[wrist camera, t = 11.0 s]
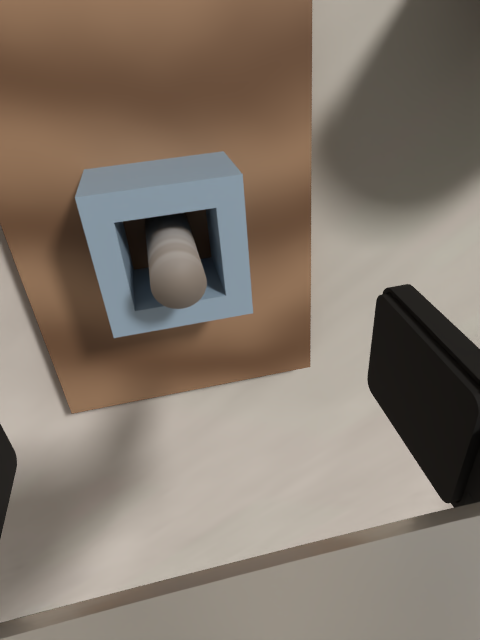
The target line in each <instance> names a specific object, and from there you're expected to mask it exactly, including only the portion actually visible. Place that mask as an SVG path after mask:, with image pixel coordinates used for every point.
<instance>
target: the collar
mask: <svg viewBox="0 0 480 640" xmlns="http://www.w3.org/2000/svg"><path fill="white" fill-rule="evenodd" d="M75 200H76V204H77V207H78V211H79V214H80V218H81V222H82V225H83V229H84V232H85V236H86V240H87V243H88V247H89V250H90V254H91V258H92V261H93V265H94V268H95V272H96V276H97V279H98V283H99V286H100V290H101V294H102V297H103V301H104V304H105V308H106V312H107V315H108V319H109V322H110V326H111V330H112V333H113V337H114V338H117V337H123V336H129V335H134V334H140V333H145V332H151V331H157V330H162V329H168V328H173V327H179V326H185V325H190V324H196V323H201V322H207V321H213V320H218V319H224V318H229V317H235V316H241V315H246V314H252V313H253V304H252V291H251V278H250V265H249V251H248V238H247V225H246V212H245V198H244V185H243V174H242V173H241V172H240V170H239V169H238V168H237V167H236V166H235V164H234V163H233V162H232V161H231V159H230V158H229V157H228V156H227V155H226V153H225V152H224V151H221V152H214V153H206V154H199V155H191V156H183V157H176V158H168V159H160V160H153V161H145V162H137V163H130V164H122V165H114V166H107V167H99V168H91V169H84V171H83V174H82V177H81V180H80V183H79V186H78V189H77V192H76V195H75ZM205 209H206V217H207V225H208V233H209V241H210V249H211V257H210V258H204V259H200V260H201V263H202V266H203V269H204V272H205V275H206V279H207V287H206V291H205V293H204V295H203V296H202V298H201V299H200V300H199V301H198V302H197V303H195V304H194V305H192V306H190V307H187V308H183V309H172V308H168V307H166V306H164V305H162V304H160V303H159V302H158V301H157V300H156V299H155V298H154V296H153V294H152V292H151V287H150V276H149V267H148V268H142V269H135V270H134V268H133V264H132V259H131V255H130V251H129V246H128V242H127V237H126V233H125V229H124V224H123V221H129V220H136V219H143V218H150V217H157V216H164V215H170V214H177V213H184V212H191V211H198V210H205Z"/></svg>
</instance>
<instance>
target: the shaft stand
mask: <svg viewBox="0 0 480 640" xmlns="http://www.w3.org/2000/svg"><path fill="white" fill-rule="evenodd" d="M311 117H312V0H0V224H1V227H2V230H3V232H4V235H5V238H6V240H7V243H8V246H9V248H10V251H11V253H12V256H13V259H14V261H15V264H16V267H17V269H18V272H19V275H20V277H21V280H22V283H23V285H24V288H25V291H26V293H27V296H28V299H29V301H30V304H31V307H32V309H33V312H34V315H35V317H36V320H37V322H38V325H39V328H40V330H41V333H42V336H43V338H44V341H45V344H46V346H47V349H48V352H49V354H50V357H51V360H52V362H53V365H54V368H55V370H56V373H57V376H58V378H59V381H60V383H61V386H62V389H63V391H64V394H65V397H66V399H67V402H68V405H69V407H70V410H71V413H78V412H83V411H88V410H93V409H98V408H103V407H108V406H113V405H118V404H123V403H128V402H134V401H139V400H144V399H149V398H154V397H159V396H164V395H169V394H174V393H179V392H184V391H190V390H195V389H200V388H205V387H210V386H215V385H220V384H225V383H230V382H235V381H240V380H246V379H251V378H256V377H261V376H266V375H271V374H276V373H281V372H286V371H291V370H296V369H302V368H307V367H310V309H311ZM221 151H224V152H225V153H226V155H227V156H228V157H229V158H230V159H231V161H232V162H233V163H234V164H235V166H236V167H237V168H238V169H239V170H240V172H241V173H242V174H243V185H244V198H245V212H246V225H247V238H248V251H249V265H250V278H251V291H252V304H253V313H252V314H246V315H241V316H235V317H229V318H224V319H218V320H213V321H207V322H201V323H196V324H190V325H185V326H179V327H173V328H168V329H162V330H157V331H151V332H145V333H140V334H134V335H129V336H123V337H117V338H114V337H113V333H112V330H111V326H110V322H109V319H108V315H107V312H106V308H105V304H104V301H103V297H102V294H101V290H100V286H99V283H98V279H97V276H96V272H95V268H94V265H93V261H92V258H91V254H90V250H89V247H88V243H87V240H86V236H85V232H84V229H83V225H82V222H81V218H80V214H79V211H78V207H77V204H76V200H75V195H76V192H77V189H78V186H79V183H80V180H81V177H82V174H83V171H84V169H91V168H99V167H107V166H114V165H122V164H130V163H137V162H145V161H153V160H160V159H168V158H176V157H183V156H191V155H199V154H206V153H214V152H221ZM123 224H124V229H125V233H126V237H127V242H128V246H129V251H130V255H131V259H132V264H133V268H134V270H135V269H142V268H148V267H149V276H150V287H151V292H152V294H153V296H154V298H155V299H156V300H157V301H158V302H159V303H160V304H162V305H164V306H166V307H168V308H172V309H183V308H187V307H190V306H192V305H194V304H195V303H197V302H198V301H199V300H200V299H201V298H202V296H203V295H204V293H205V291H206V287H207V279H206V275H205V272H204V269H203V266H202V263H201V260H200V259H204V258H210V257H211V249H210V241H209V233H208V225H207V217H206V209H205V210H198V211H191V212H184V213H177V214H170V215H164V216H157V217H150V218H143V219H136V220H129V221H123Z"/></svg>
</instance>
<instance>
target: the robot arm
mask: <svg viewBox="0 0 480 640" xmlns="http://www.w3.org/2000/svg"><path fill="white" fill-rule="evenodd" d="M368 385H369V389H370V391H371V393H372V394H373V396H374V397H375V399H376V400H377V402H378V404H379V405H380V407H381V408H382V410H383V411H384V413H385V414H386V416H387V417H388V419H389V420H390V422H391V423H392V425H393V426H394V428H395V429H396V431H397V432H398V434H399V435H400V437H401V438H402V440H403V441H404V443H405V445H406V446H407V448H408V449H409V451H410V452H411V454H412V455H413V457H414V458H415V460H416V461H417V463H418V464H419V466H420V467H421V469H422V470H423V472H424V473H425V475H426V476H427V478H428V479H429V481H430V482H431V484H432V486H433V487H434V489H435V490H436V492H437V493H438V495H439V496H440V498H441V499H442V500H443V501H444V502H445V503H451V504H452V505H453V507H454V508H451V509H447V510H442V511H438V512H434V513H429V514H425V515H421V516H417V517H413V518H409V519H405V520H401V521H397V522H393V523H389V524H385V525H381V526H377V527H373V528H369V529H365V530H360V531H356V532H352V533H348V534H344V535H340V536H336V537H332V538H328V539H324V540H320V541H316V542H312V543H308V544H304V545H300V546H296V547H292V548H288V549H285V550H281V551H277V552H273V553H269V554H265V555H261V556H257V557H253V558H249V559H245V560H241V561H237V562H233V563H229V564H225V565H221V566H217V567H214V568H210V569H206V570H202V571H198V572H194V573H190V574H186V575H182V576H178V577H174V578H170V579H166V580H163V581H159V582H155V583H151V584H147V585H143V586H139V587H136V588H132V589H128V590H124V591H120V592H116V593H112V594H109V595H105V596H101V597H97V598H93V599H89V600H85V601H82V602H78V603H74V604H70V605H66V606H62V607H58V608H55V609H51V610H47V611H43V612H39V613H35V614H31V615H28V616H24V617H20V618H17V619H13V620H9V621H6V622H2V623H0V640H480V349H479V348H478V347H477V346H476V345H475V344H474V343H473V342H472V341H470V340H469V339H468V338H467V337H466V336H465V335H464V334H463V333H462V332H461V331H460V330H459V329H458V328H457V327H456V326H454V325H453V324H452V323H451V322H450V321H449V320H448V319H447V318H446V317H445V316H444V315H443V314H442V313H441V312H440V311H439V310H437V309H436V308H435V307H434V306H433V305H432V304H431V303H430V302H429V301H428V300H427V299H426V298H425V297H424V296H423V295H421V294H420V293H419V292H418V291H417V290H416V289H415V288H414V287H413V286H411V285H410V284H406V285H401V286H395V287H390V288H386V289H385V290H384V291H383V294H382V295H379V296H378V298H377V301H376V309H375V318H374V327H373V335H372V344H371V352H370V361H369V370H368ZM16 467H17V458H16V453H15V451H14V449H13V447H12V445H11V443H10V441H9V439H8V437H7V436H6V434H5V432H4V430H3V428H2V426H1V424H0V538H1V533H2V529H3V525H4V520H5V516H6V512H7V507H8V503H9V498H10V494H11V490H12V485H13V481H14V476H15V472H16Z"/></svg>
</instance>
